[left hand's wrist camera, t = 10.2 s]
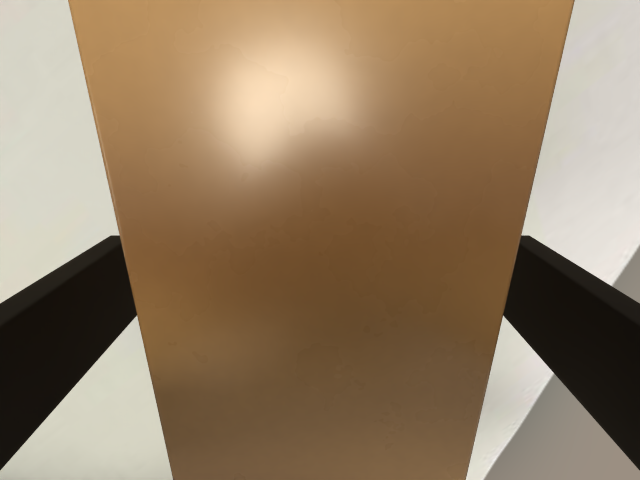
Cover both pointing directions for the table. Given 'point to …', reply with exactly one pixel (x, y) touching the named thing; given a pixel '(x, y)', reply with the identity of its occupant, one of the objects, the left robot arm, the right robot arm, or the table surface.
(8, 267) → the table surface
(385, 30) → the bar
